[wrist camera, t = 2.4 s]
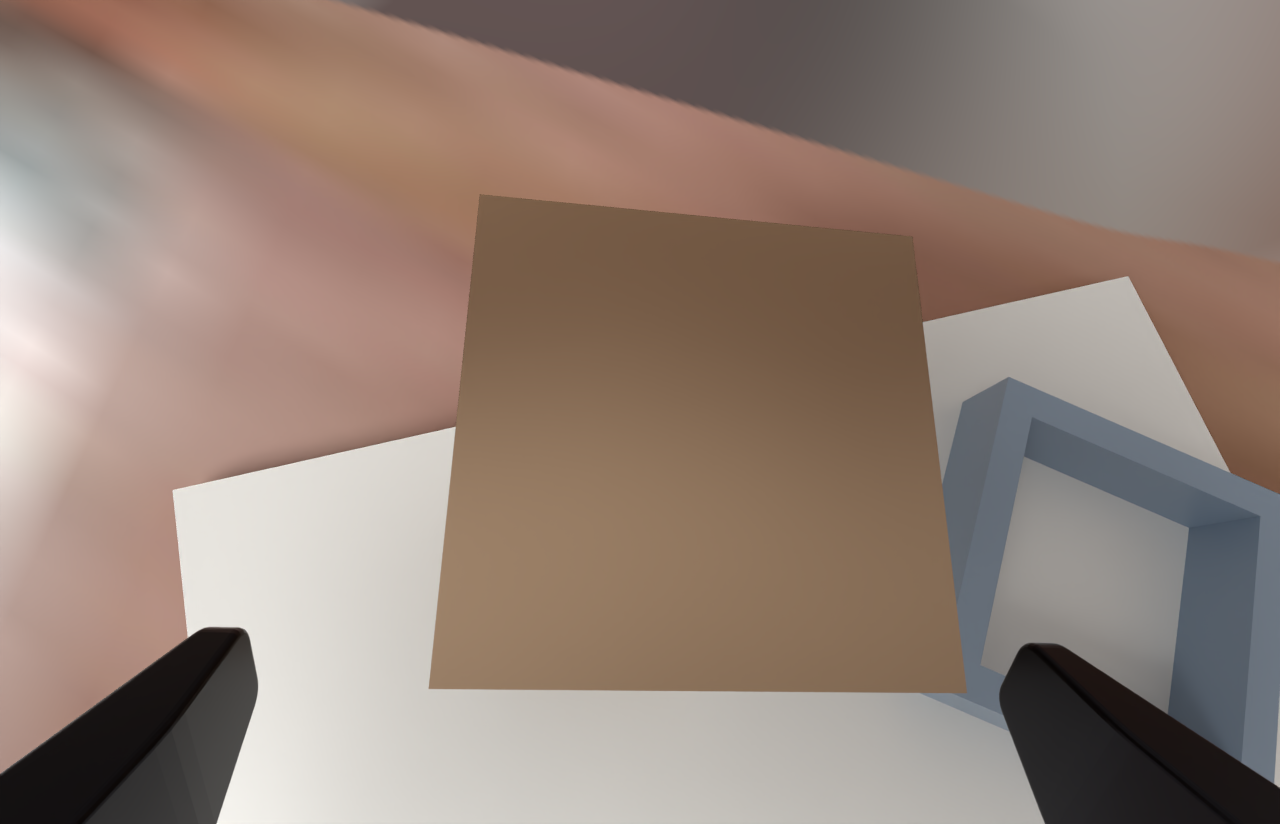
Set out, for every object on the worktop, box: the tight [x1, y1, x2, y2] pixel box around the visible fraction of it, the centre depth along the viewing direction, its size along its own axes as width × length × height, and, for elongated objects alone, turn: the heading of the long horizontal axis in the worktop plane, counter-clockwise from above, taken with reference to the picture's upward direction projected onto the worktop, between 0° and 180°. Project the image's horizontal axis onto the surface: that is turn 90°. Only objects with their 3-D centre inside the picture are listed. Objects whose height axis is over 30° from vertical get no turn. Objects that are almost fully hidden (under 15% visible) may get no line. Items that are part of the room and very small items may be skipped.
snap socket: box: [921, 377, 1280, 783], centre depth 17 cm, size 8×8×2 cm
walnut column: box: [429, 194, 967, 693], centre depth 11 cm, size 4×4×11 cm
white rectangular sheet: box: [173, 276, 1280, 824], centre depth 16 cm, size 21×27×1 cm
